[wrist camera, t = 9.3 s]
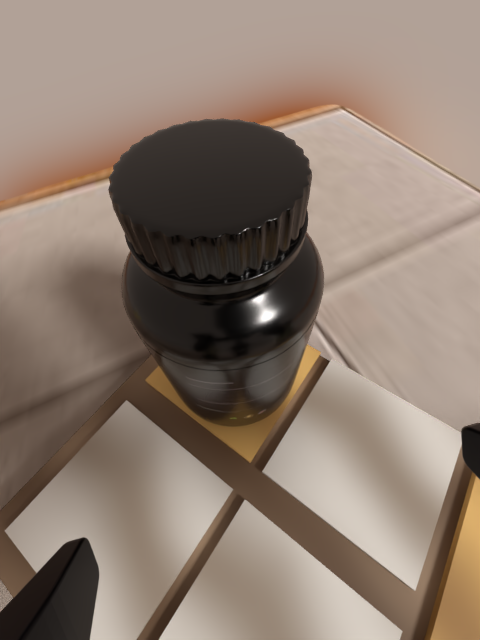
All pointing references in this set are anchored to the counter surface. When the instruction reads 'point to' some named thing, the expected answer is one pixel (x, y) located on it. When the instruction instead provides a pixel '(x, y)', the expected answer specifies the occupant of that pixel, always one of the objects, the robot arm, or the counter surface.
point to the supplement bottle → (220, 262)
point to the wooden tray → (261, 516)
